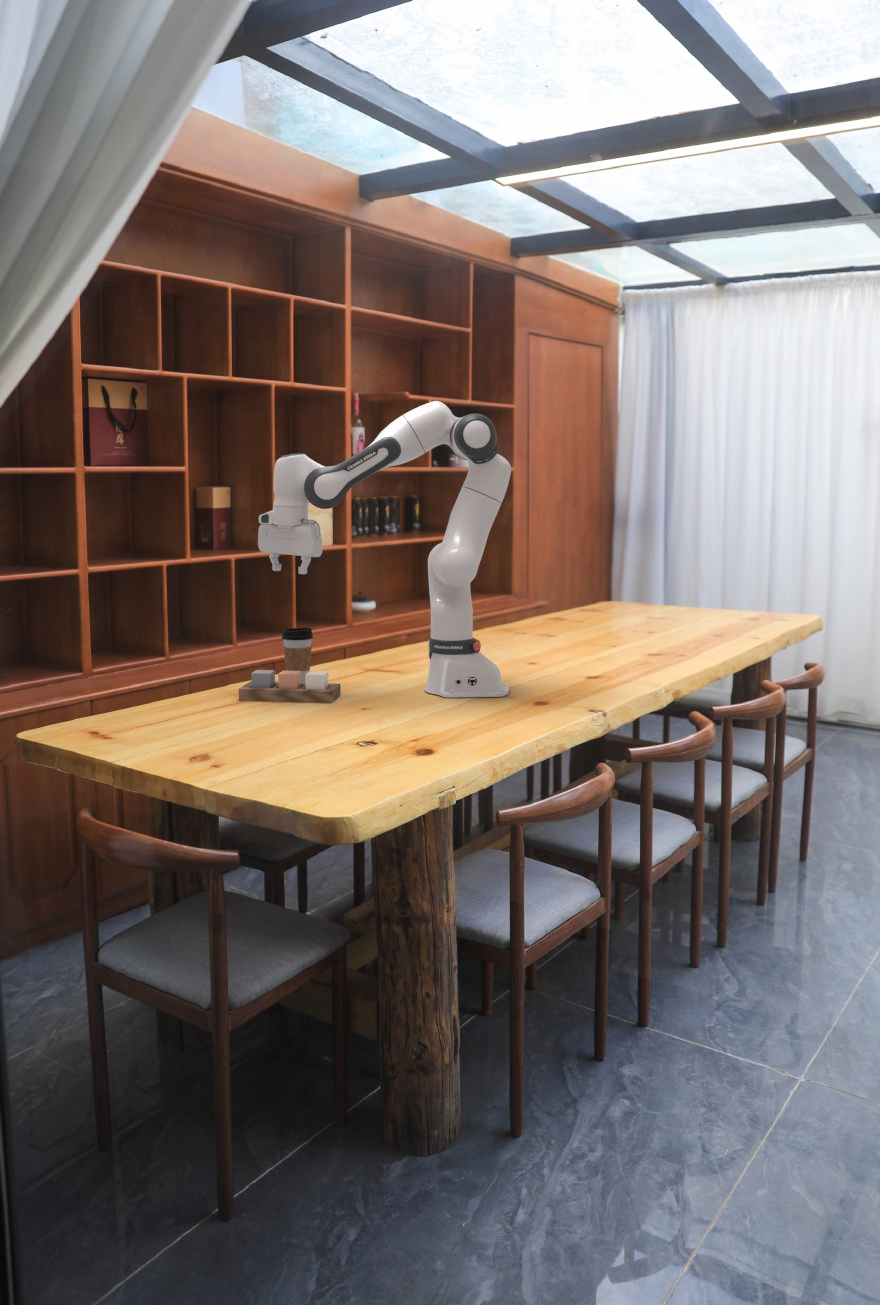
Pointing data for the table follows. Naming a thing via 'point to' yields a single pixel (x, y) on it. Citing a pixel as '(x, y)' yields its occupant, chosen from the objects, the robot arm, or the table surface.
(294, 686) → the terracotta key
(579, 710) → the table surface
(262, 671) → the slate key
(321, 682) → the ivory key
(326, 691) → the tray
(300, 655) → the coffee cup
